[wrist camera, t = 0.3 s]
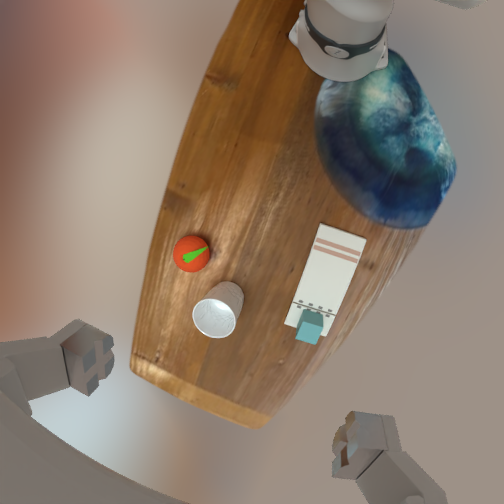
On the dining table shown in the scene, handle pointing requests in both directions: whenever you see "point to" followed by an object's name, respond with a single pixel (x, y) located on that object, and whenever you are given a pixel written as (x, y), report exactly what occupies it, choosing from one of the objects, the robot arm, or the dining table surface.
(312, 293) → the ticket
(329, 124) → the dining table surface
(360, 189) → the dining table surface
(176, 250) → the clementine
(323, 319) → the stub
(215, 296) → the white cup
